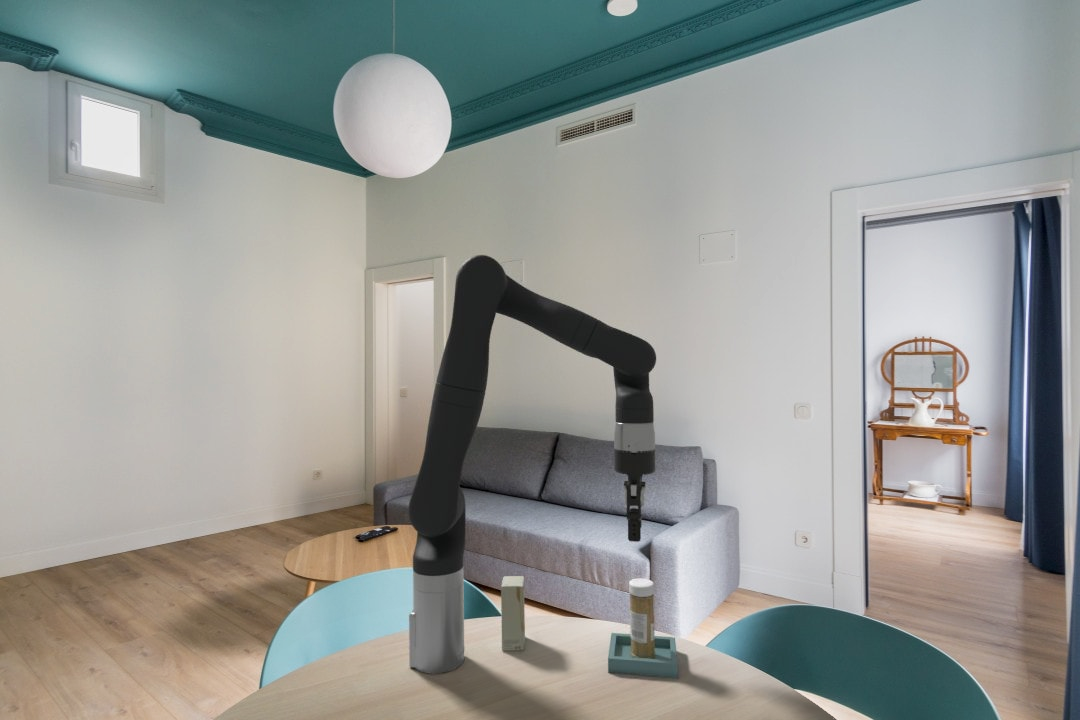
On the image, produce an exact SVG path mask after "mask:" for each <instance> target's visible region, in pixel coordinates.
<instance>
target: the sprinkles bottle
mask: <svg viewBox="0 0 1080 720" xmlns="http://www.w3.org/2000/svg"><path fill="white" fill-rule="evenodd" d="M628 593H629V597H630V598H629V607H630V608H629V619H630V621H629V623H630V624H629V625H630V628H629V629H630V633H629V634H631V656H632V657H633V658H646V659H653V658H654V657H655V645H654V638H655V636H656V635H655V633H656V632H655V613H654V608H655V607H654V594H655V584H654V582H653V581H652V580H650V579H647V578H633V579H631V580H629V582H628Z"/></svg>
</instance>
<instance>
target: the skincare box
mask: <svg viewBox="0 0 1080 720" xmlns="http://www.w3.org/2000/svg"><path fill="white" fill-rule="evenodd" d="M500 596H501V597H500V601H501V602H500V605H501V613H500V615H501V650H502V651H524V650H525V649H524V648H525V642H526V627H525V626H526V625H525V624H526V623H525V619H526V617H525V615H526V614H525V576H523V575H512V576H511V575H507V576H505V575H504V576H503V578H502V581H501V585H500Z"/></svg>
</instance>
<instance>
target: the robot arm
mask: <svg viewBox="0 0 1080 720" xmlns="http://www.w3.org/2000/svg"><path fill="white" fill-rule="evenodd" d="M454 284H455V285H454V296H453V297H454V298H453V308H452V317H451V323H450V329H449V332H448V337H447V339H446V342H445V343H446V344H445V346H444V349H443V353H442V357H441V361H440V365H439V368H438V374H437V377H436V382H435V386H434V391H433V396H432V400H431V407H430V413H429V419H428V424H427V430H426V439H425V444H424V445H425V447H424V452H423V455H422V456H423V457H422V461H421V464H420V468H419V471H418V473H417V478H416V481H415V483H414V487H413V491H412V493H411V495H410V498H409V503H408V510H407V512H408V518H409V521H410V523H411V525H412V527H413V529H414V530H415V531H416V533H417V535H416V542H415V547H414V551H413V554H412V586H413V587H412V588H413V589H412V590H413V592H412V595H413V596H412V597H413V598H412V601H413V602H412V603H413V604H412V605H413V607H412V610H411V612H410V613H409V615H408V629H409V630H408V631H409V632H408V639H409V641H408V642H409V646H408V650H409V653H408V655H409V662H408V663H409V668H414V669H416V670H417V671H419V672H422V673H425V674H442V673H447V672H450V671H453V670H456V669H458V668H459V667H460V666H461V665H462V664H463V663H464V661H465V607H464V606H465V599H464V598H465V597H464V596H465V595H464V594H465V592H464V591H465V587H464V583H465V582H464V581H465V580H464V576H465V575H464V557H465V556H464V555H465V548H466V513H467V512H466V498H465V494H464V491H463V490H462V488H461V486H460V485H461V479H462V478H461V477H462V471H463V467H464V462H465V458H466V457H467V452H468V450H469V448H470V446H471V444H472V440H473V439H474V435H475V432H476V430H477V428H478V424H479V422H480V418H481V414H482V410H483V406H484V401H485V396H486V391H487V385H488V377H489V362H490V342H491V341H490V340H491V333H492V329H493V325H494V322H495V319H496V315H497V314H500V315H502V316H506V317H508V318H511V319H513V320H516V321H517V322H518V321H519V322H520V323H522V324H525V325H526V326H529V327H531V328H532V329H535V330H536V331H538V332H540V333H542V334H544V335H546V336H547V337H549V338H551V339H553V340H555V341H556V342H558V343H560V344H562V345H564V346H565V347H569V348H570V349H572V350H574V351H576V352H578V353H581V354H583V355H585V356H587V357H590V358H595V359H597V360H599V361H602V362H603V363H605V364H607V365H609V366H611V367H612V368H613V378H614V387H615V411H614V412H615V425H614V431H613V432H614V434H613V438H614V439H613V440H614V441H613V444H614V445H613V446H614V447H613V451H614V452H613V458H614V459H613V463H614V464H613V466H614V471H615V473H617V474H622V475H626V476H627V480H624V481H623V482H624V483H623V494H624V508H625V509H626V514H625V517H626V520H627V540H628V541H629V542H636V543H637V542H640V541H641V539H642V537H641V533H642V532H641V528H642V518H643V514H642V510H643V509H644V508H645V494H646V490H647V489H646V486H647V485H646V481H643V478H644V477H643V476H644V475H647V476H648V475H652V474H654V473H655V471H656V432H655V424H654V420H655V419H654V398H653V395H652V393H651V390H650V373H651V372H652V371H653V369H654V368H655V366H656V363H657V354H656V351H655V348H654V347H653V346H652V345H651V344H650V343H649V342H648V341H647V340H645V339H643V338H641V337H639V336H637V335H634V334H632V333H629V332H626V331H624V330H621V329H618V328H616V327H613V326H611V325H608V324H606V323H605V322H603V321H602V320H600V319H598V318H596V317H594V316H592V315H590V314H588V313H585V312H584V311H582V310H579V309H577V308H575V307H573V306H570V305H567V304H565V303H562V302H559V301H557V300H554V299H551V298H548V297H546V296H544V295H540V294H538V293H536V292H534V291H533V290H530V289H529V288H527V287H525V286H523V285H521V284H520V283H519V282H517V281H516V280H514V279H513V278H512V277H510V276H509V275H507V273H506V272H505V269H504V268H503V266H502V265H501V264H500V262H498V261H497V260H496V259H495V258H493V257H491V256H489V255H486V254H477V255H474V256H471V257H469V258H468V259H466V260H465V261H464V262H463V263H462V264H461V265H460V267H459V269H458V270H457V272H456V276H455V283H454Z"/></svg>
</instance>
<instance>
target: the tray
mask: <svg viewBox="0 0 1080 720" xmlns="http://www.w3.org/2000/svg"><path fill="white" fill-rule="evenodd" d="M673 637H674V638H673ZM654 645H655V657H654V658H653V659H646V658H633V657H632V656H631V634H630V633H617V632H611V634H610V641H609V646H608V647H609V649H608V656H607V673H610V674H621V675H632V676H645V677H656V678H657V677H658V678H668V679H679V664H678V662H679V661H678V652H677V643H676V637H675V636H660V635H655V638H654Z"/></svg>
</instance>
